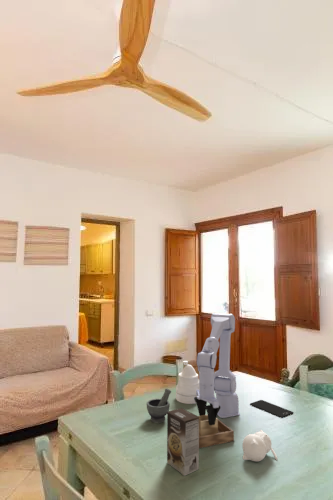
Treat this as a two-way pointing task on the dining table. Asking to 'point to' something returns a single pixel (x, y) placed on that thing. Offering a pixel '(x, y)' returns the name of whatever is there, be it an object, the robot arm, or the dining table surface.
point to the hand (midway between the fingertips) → (206, 420)
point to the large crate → (217, 436)
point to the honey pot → (187, 385)
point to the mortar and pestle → (159, 407)
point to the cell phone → (271, 408)
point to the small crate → (207, 426)
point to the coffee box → (183, 440)
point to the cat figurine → (257, 446)
